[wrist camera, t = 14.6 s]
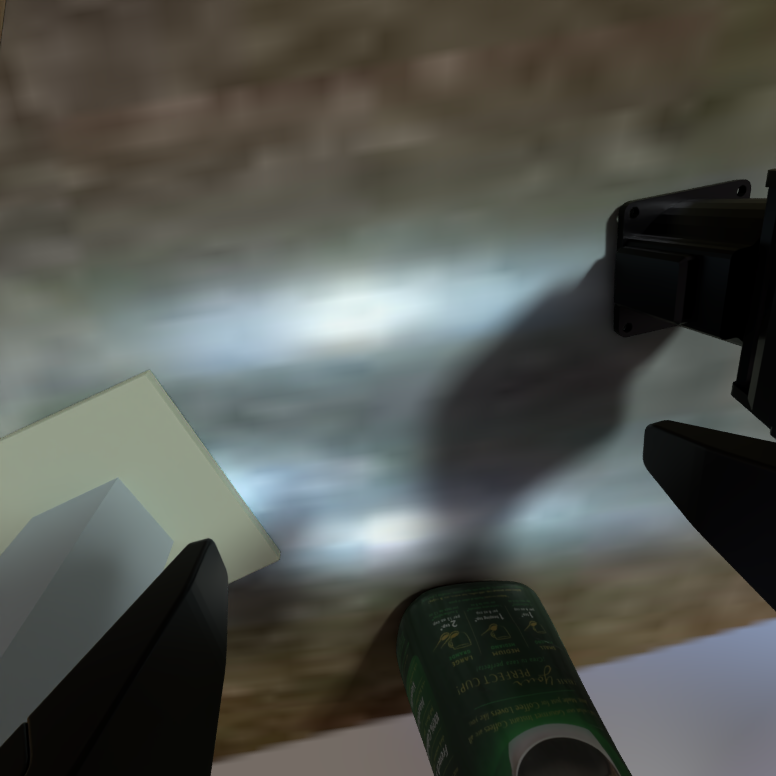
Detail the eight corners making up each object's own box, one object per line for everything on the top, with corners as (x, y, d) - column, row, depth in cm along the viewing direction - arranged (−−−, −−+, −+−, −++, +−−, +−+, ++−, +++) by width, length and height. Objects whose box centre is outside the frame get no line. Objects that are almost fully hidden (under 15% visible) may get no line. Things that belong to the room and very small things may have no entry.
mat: (149, 369, 20) (145, 374, 19) (280, 551, 25) (279, 559, 24) (-100, 484, 20) (-111, 492, 19) (82, 643, 25) (78, 653, 24)
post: (117, 477, 21) (-119, 841, 9) (173, 541, 23) (38, 913, 11) (32, 517, 21) (-318, 936, 9) (94, 578, 23) (-127, 991, 11)
